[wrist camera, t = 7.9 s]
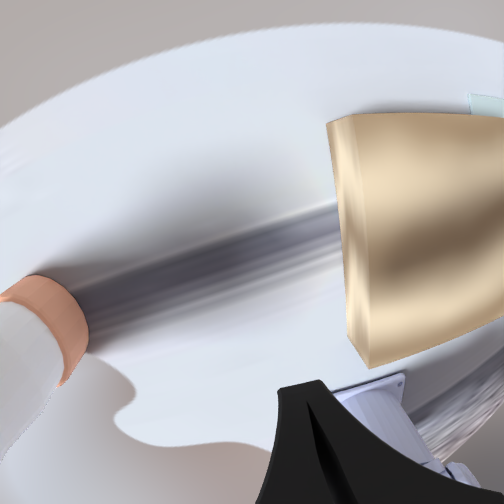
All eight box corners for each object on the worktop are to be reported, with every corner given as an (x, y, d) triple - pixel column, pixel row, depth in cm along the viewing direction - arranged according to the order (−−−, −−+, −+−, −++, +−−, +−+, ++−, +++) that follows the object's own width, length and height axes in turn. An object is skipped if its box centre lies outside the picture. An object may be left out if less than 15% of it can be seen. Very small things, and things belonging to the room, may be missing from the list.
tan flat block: (473, 295, 21) (503, 315, 17) (347, 336, 21) (368, 369, 17) (472, 120, 17) (509, 118, 13) (325, 123, 16) (352, 114, 13)
